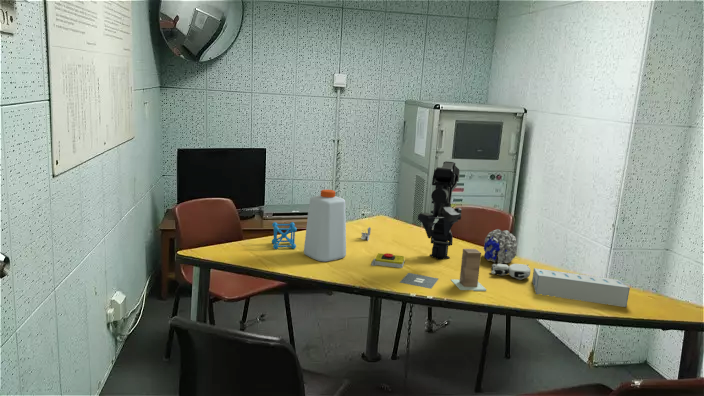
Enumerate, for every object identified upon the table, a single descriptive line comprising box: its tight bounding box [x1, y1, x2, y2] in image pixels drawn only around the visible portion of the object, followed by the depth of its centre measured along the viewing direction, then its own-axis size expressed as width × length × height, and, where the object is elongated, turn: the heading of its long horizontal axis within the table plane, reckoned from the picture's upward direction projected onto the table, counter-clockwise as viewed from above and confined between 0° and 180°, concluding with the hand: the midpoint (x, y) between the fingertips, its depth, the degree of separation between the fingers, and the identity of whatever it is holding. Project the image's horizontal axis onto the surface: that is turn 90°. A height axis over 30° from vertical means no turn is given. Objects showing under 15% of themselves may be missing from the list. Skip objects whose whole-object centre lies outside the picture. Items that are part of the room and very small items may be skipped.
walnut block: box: [459, 248, 482, 287], centre depth 182 cm, size 5×5×13 cm
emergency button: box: [371, 252, 405, 269], centre depth 202 cm, size 9×4×15 cm
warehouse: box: [531, 267, 630, 308], centre depth 182 cm, size 30×14×8 cm, turn 75°
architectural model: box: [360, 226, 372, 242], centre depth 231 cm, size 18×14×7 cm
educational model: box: [483, 228, 518, 264], centre depth 216 cm, size 14×20×15 cm
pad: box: [450, 278, 487, 292], centre depth 183 cm, size 10×10×1 cm
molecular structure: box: [271, 221, 298, 250], centre depth 217 cm, size 10×10×10 cm
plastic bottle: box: [303, 189, 347, 263], centre depth 205 cm, size 15×15×28 cm
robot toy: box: [490, 263, 531, 281], centre depth 197 cm, size 12×4×15 cm
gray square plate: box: [399, 272, 439, 289], centre depth 185 cm, size 12×12×1 cm
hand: (437, 237), depth 199 cm, fingers open, 9 cm apart
